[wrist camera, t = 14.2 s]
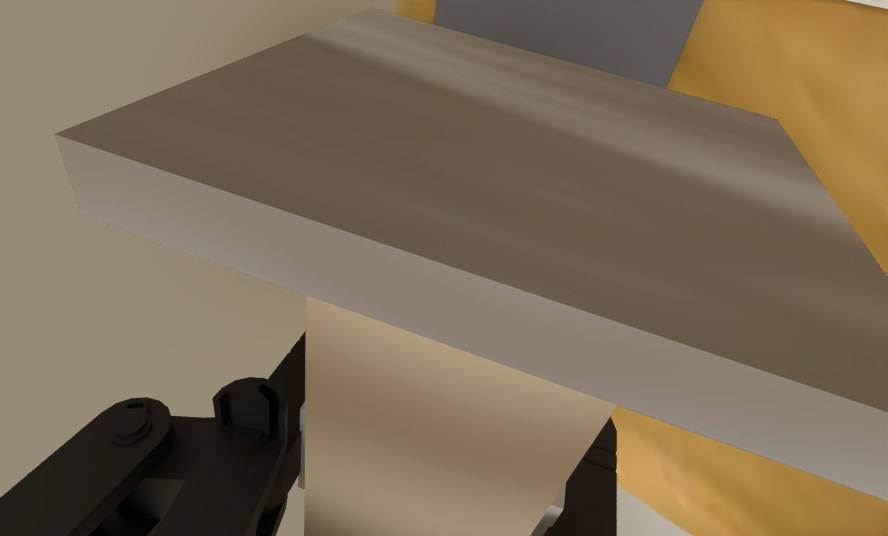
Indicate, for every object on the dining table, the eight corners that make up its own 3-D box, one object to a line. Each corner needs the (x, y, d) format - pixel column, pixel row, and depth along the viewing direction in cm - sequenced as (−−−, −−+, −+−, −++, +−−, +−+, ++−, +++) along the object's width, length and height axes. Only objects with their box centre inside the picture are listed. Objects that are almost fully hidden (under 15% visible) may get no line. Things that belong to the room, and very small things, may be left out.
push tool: (541, 492, 20) (504, 754, 14) (338, 415, 21) (219, 626, 15) (777, 119, 10) (1012, 454, 4) (370, 7, 11) (54, 134, 5)
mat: (572, 301, 36) (572, 308, 35) (405, 250, 38) (401, 255, 37) (702, -6, 24) (705, -4, 24) (449, -61, 26) (445, -61, 25)
